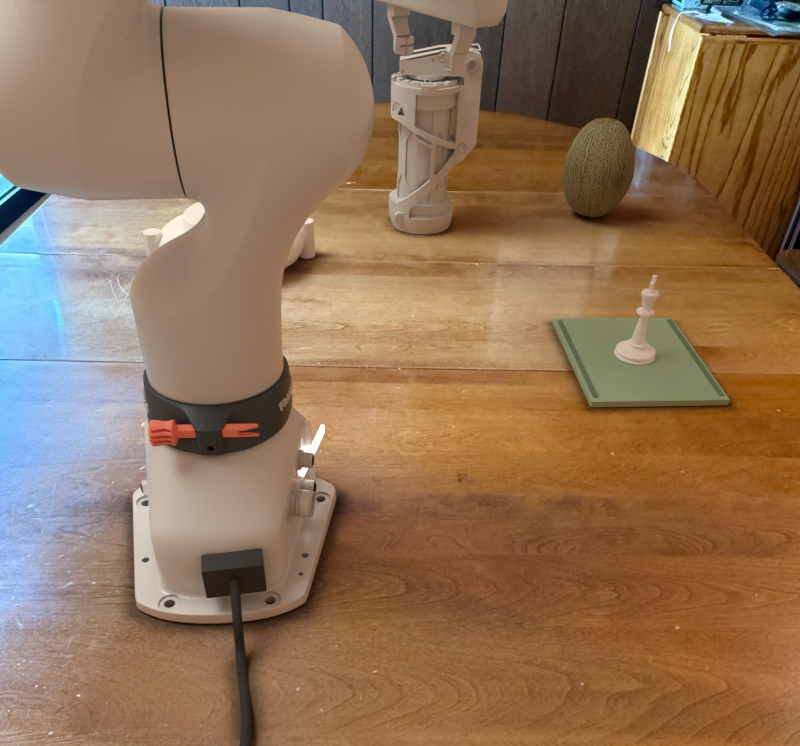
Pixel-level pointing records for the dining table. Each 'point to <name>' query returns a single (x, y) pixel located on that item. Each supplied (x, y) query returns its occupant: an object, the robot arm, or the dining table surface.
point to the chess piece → (640, 332)
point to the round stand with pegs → (194, 213)
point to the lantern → (431, 134)
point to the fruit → (599, 167)
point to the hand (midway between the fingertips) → (427, 63)
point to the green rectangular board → (637, 384)
